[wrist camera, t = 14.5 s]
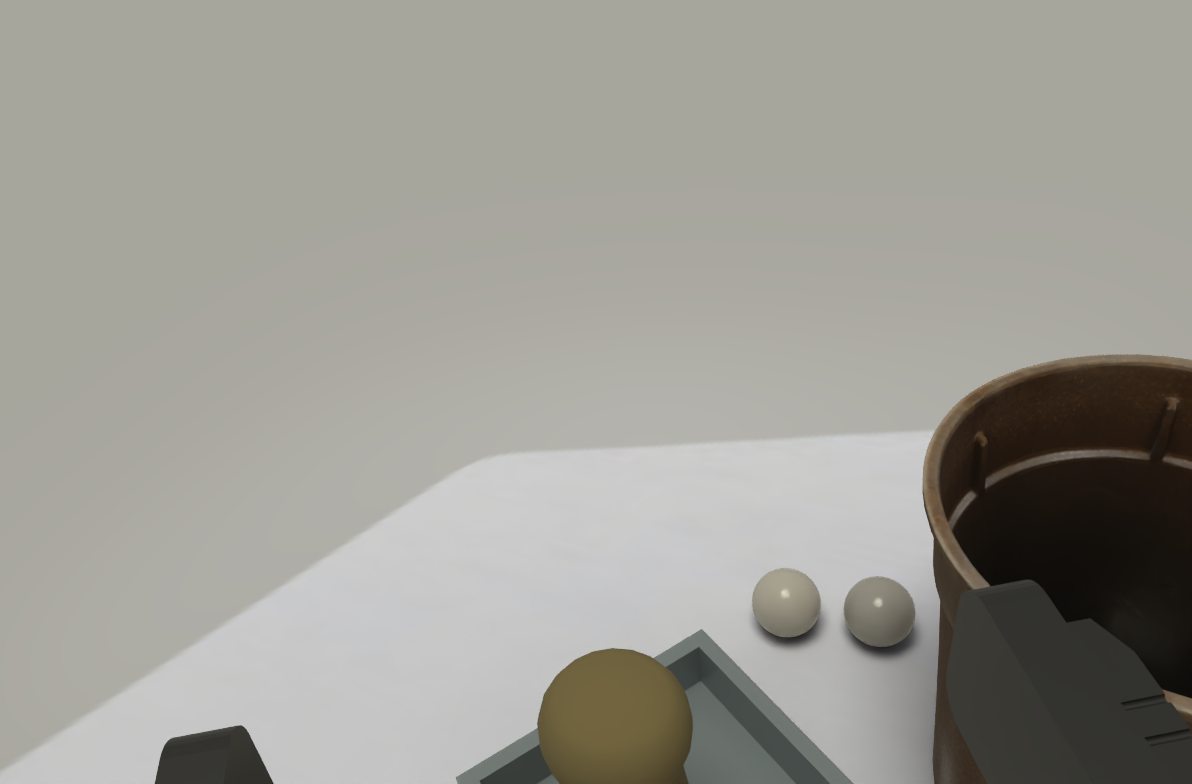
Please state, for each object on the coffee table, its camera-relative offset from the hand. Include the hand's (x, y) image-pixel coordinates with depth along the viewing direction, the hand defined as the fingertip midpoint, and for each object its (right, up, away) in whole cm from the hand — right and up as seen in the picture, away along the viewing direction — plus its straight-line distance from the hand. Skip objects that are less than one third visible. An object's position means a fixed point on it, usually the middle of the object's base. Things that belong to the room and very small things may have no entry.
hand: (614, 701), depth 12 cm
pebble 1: (+9, -8, +38) cm, 40 cm away
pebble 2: (+13, -8, +37) cm, 40 cm away
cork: (+1, -15, +29) cm, 33 cm away
